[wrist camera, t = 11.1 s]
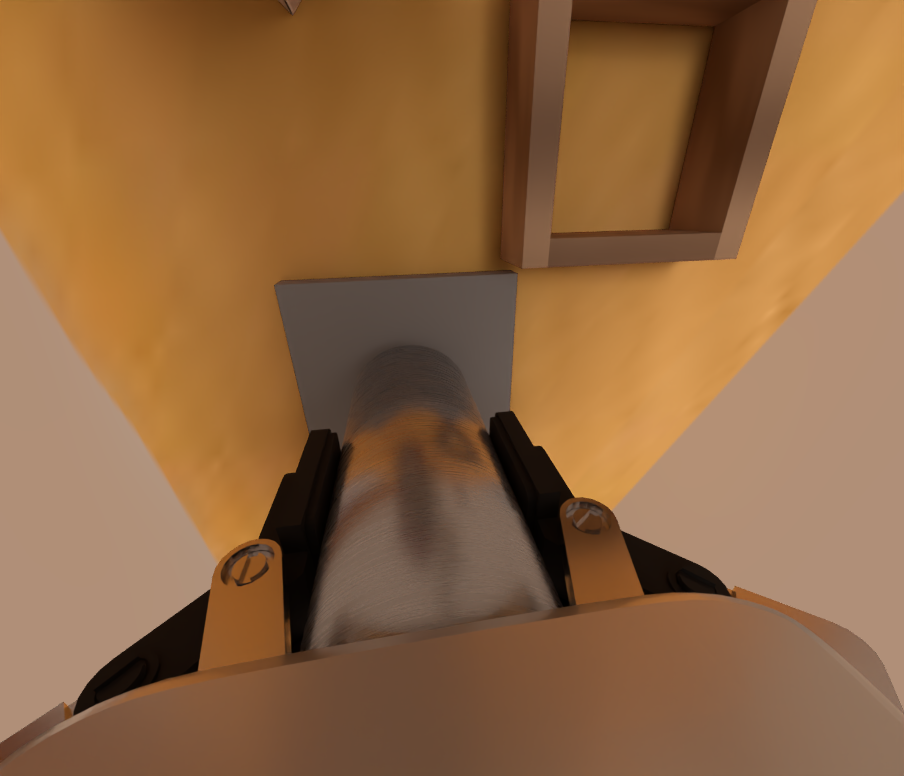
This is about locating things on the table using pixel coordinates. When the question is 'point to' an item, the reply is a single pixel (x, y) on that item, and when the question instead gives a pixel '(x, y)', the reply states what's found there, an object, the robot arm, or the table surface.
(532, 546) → the canister
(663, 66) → the table surface
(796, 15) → the pocket
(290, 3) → the juice carton
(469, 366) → the pad
